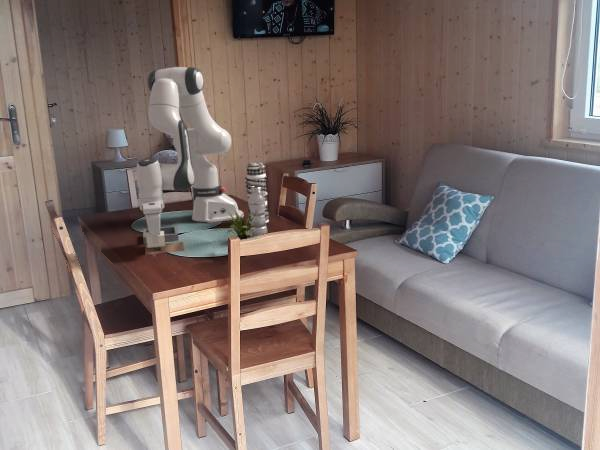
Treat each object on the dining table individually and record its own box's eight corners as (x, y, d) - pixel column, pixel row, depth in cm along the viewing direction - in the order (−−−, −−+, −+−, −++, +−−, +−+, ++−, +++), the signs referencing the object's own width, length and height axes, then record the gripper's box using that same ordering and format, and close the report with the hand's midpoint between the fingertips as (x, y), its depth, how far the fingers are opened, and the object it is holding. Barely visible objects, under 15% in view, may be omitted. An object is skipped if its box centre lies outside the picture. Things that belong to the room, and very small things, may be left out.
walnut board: (183, 244, 255) (181, 229, 253) (184, 253, 243) (183, 237, 242) (145, 248, 252) (143, 232, 250) (145, 257, 240) (143, 241, 239)
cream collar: (164, 241, 250) (163, 230, 249) (165, 245, 244) (164, 235, 243) (147, 242, 249) (146, 232, 248) (147, 247, 243) (146, 237, 242)
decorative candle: (267, 224, 278) (263, 164, 271) (245, 224, 279) (241, 165, 273) (272, 218, 286) (268, 161, 280) (251, 218, 288) (247, 161, 282)
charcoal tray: (177, 234, 269) (176, 225, 268) (178, 242, 257) (178, 234, 256) (144, 237, 266) (143, 229, 265) (144, 246, 254) (143, 237, 253)
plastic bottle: (261, 241, 254) (258, 189, 249) (247, 239, 258) (243, 188, 253) (271, 236, 259) (268, 186, 254) (256, 234, 263) (253, 184, 258)
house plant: (211, 256, 237) (208, 212, 233) (235, 246, 249) (232, 203, 245) (244, 261, 230) (241, 215, 226) (267, 250, 241) (264, 206, 237)
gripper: (143, 198, 252) (146, 233, 255) (142, 210, 232) (147, 248, 236) (160, 196, 253) (163, 232, 256) (161, 209, 233) (165, 246, 237)
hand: (155, 240), depth 246 cm, fingers closed on cream collar, 6 cm apart
